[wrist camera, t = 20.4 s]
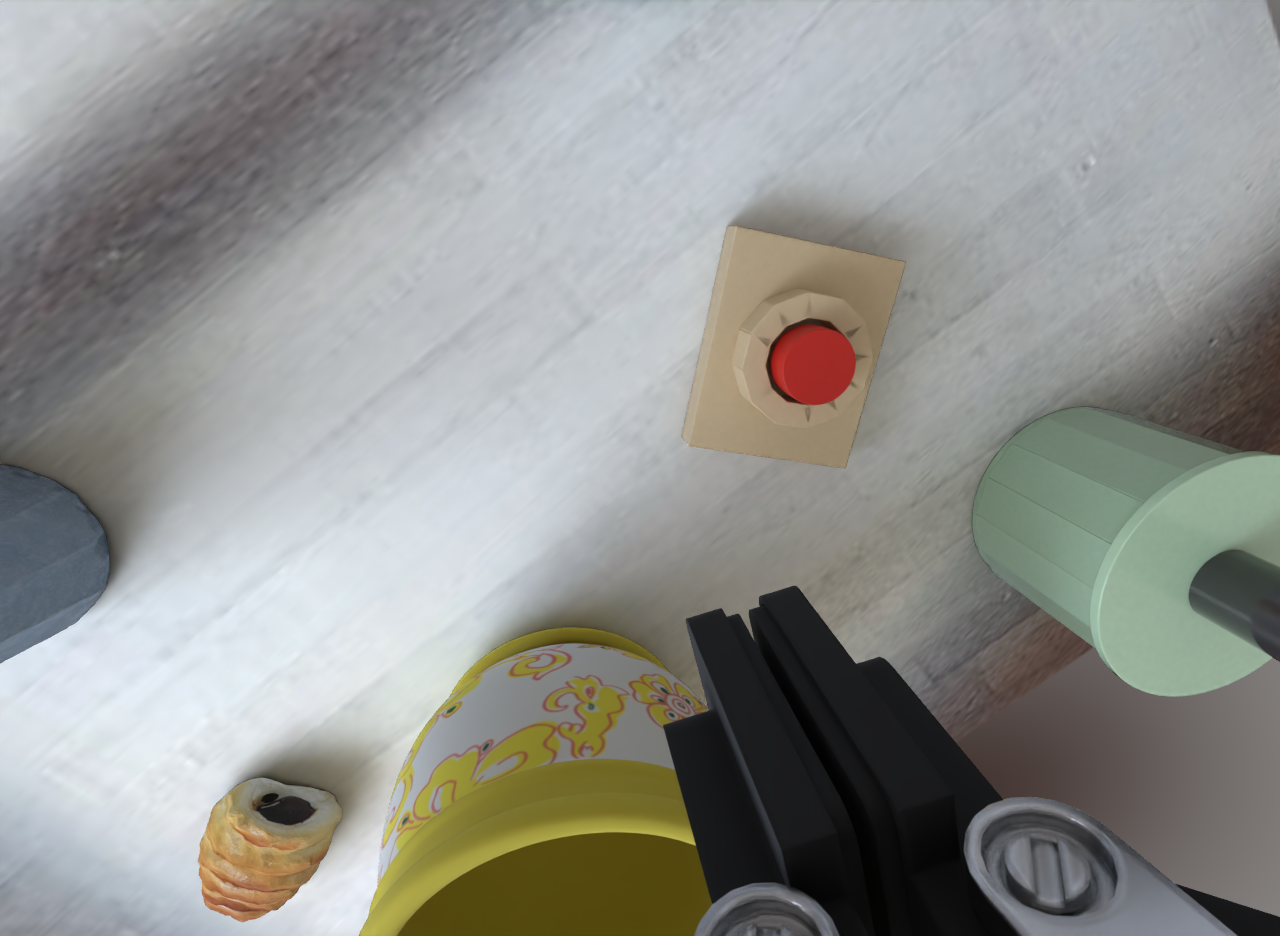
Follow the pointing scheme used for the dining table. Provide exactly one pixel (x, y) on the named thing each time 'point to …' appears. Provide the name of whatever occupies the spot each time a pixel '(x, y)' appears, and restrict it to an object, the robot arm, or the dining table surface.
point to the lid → (1194, 580)
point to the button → (813, 364)
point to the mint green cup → (1073, 500)
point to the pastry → (264, 845)
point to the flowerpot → (545, 801)
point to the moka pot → (45, 559)
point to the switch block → (756, 320)
